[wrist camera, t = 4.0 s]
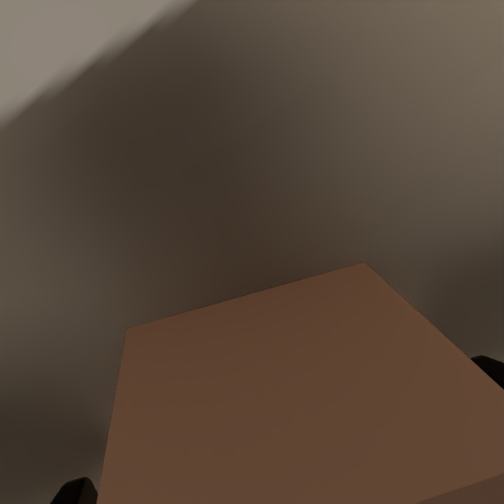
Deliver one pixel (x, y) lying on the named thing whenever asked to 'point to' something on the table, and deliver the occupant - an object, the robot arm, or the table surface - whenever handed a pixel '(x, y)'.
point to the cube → (303, 404)
